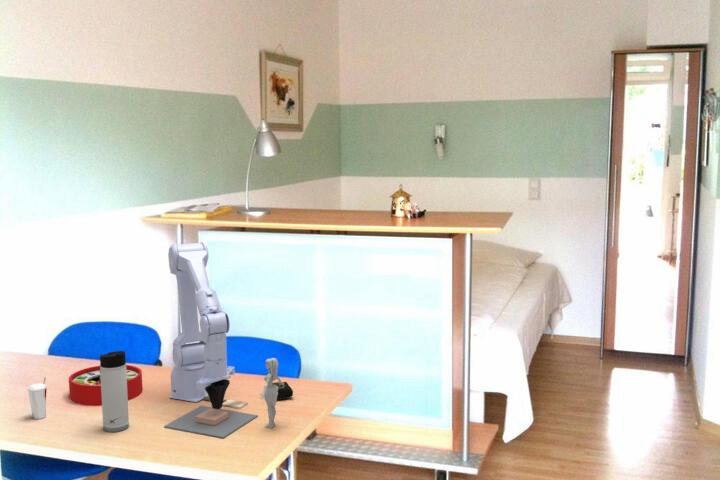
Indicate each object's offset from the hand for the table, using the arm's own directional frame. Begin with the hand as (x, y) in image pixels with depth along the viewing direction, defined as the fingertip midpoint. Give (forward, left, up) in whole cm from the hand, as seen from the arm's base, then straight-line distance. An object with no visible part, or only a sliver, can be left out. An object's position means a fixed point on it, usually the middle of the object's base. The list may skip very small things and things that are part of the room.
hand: (217, 408), depth 198 cm
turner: (-5, +11, -3) cm, 12 cm away
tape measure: (+7, +22, -3) cm, 23 cm away
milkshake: (-44, -17, -3) cm, 47 cm away
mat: (0, -2, -3) cm, 4 cm away
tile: (0, +1, -2) cm, 2 cm away
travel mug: (-20, -15, -3) cm, 25 cm away
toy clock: (-41, +4, -3) cm, 41 cm away
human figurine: (+16, +1, -3) cm, 16 cm away
